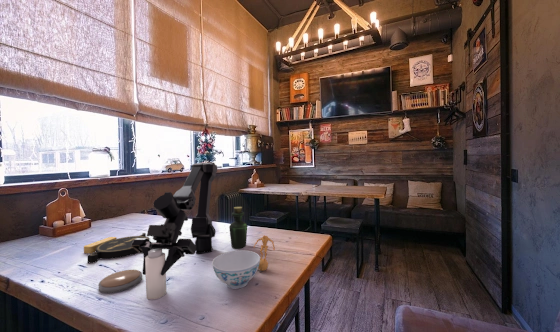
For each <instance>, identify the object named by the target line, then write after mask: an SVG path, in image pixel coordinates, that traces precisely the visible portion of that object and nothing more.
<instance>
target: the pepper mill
mask: <svg viewBox="0 0 560 332" xmlns="http://www.w3.org/2000/svg"><path fill="white" fill-rule="evenodd" d="M165 261H166V253H165V252H163V249H153V250H150V251H149V252H148V256H146V257H145V268H146V275H145V291H146V292H145V294H146V295H145V296H146V299H147V300H152V301H153V300H158V299H160V298H163V297H164V296H165V295H166V294H167V272H166V273H165V274H164V275H161V271H162V268H163V266H164V263H165Z"/></svg>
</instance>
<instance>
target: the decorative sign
mask: <svg viewBox="0 0 560 332" xmlns="http://www.w3.org/2000/svg"><path fill="white" fill-rule="evenodd" d="M137 238H147V239H148V240H150V236H147V233H146V232H142V234H140V235H133V236H131V235H130V236H124V237H120V238H118V237H116V236H109V237H106V238H102V239H100V240H98V241H94V242H92V243H89V244H85V245H84V246H83V253H84V254H87V263H88V264H92V263H93V262H94V263H97V262H98V261H99V260H101V259H100V258H102V260H103V259H104V260H110V259H111V260H112V259H121V258H125V257H129V256H132V255H135V254H140V253H139V252H138V251H136V250H135V249H134V248H133V247H131V244H132V242H133V241H134V239H137ZM95 251H96V252H95ZM93 252H94V253H93ZM89 262H90V263H89Z"/></svg>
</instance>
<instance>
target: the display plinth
mask: <svg viewBox="0 0 560 332" xmlns="http://www.w3.org/2000/svg"><path fill="white" fill-rule="evenodd" d="M142 280H143V271H140V270H138V269H126V270H121V271H117V272H114V273H112V274H109V275H106V276H105V277H104V278H102V279H101V280H100V281H99V283H98V292H100V293H102V294H115V293H119V292H122V291H126V290H129V289H131V288H134V287H135V286H137V285H138V284H139V283H141V282H142Z"/></svg>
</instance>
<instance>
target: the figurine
mask: <svg viewBox="0 0 560 332" xmlns="http://www.w3.org/2000/svg"><path fill="white" fill-rule="evenodd" d="M260 241H262V242H261V243H262V244H261V245H260V250H259V253H260V254H261V256H260V263H259V267H258V270H259V271H261V272H264V271H266V270H268V267H269V262H268V260H267V259H266V258H267V254H268V253H267V252H268V248H269V245H268V242H271V243H272V249H273V251H275V250H276V249H275V244H274V241H273V240H272V239H271V238H270V237H269V236H268V235H264V234H263V235H262V237H260V238H257V240H256V242H255V243H254V245H253V248H255V247H256V245H257V244H258V242H260ZM263 251H264V253H263ZM263 254H264V258H263Z"/></svg>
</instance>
